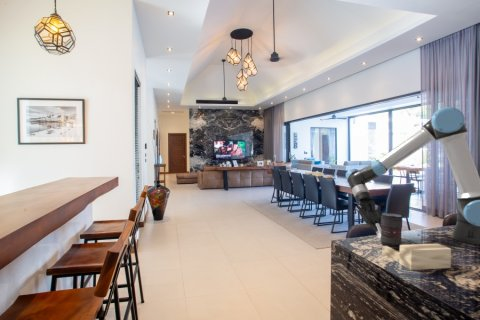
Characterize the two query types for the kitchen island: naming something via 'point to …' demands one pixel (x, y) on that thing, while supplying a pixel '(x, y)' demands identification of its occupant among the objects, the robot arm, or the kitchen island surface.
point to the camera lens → (391, 230)
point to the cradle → (421, 256)
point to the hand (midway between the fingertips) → (381, 237)
